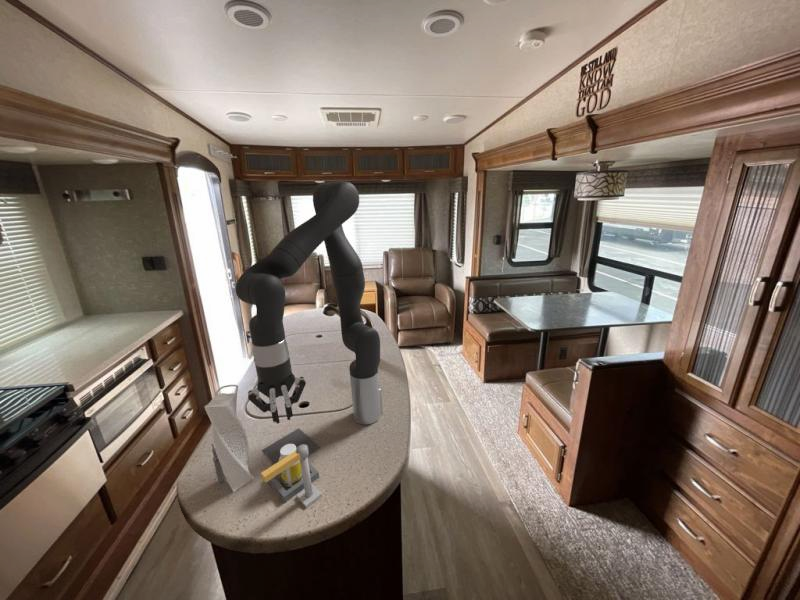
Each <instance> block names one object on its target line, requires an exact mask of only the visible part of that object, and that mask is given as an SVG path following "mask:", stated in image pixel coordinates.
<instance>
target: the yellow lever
mask: <svg viewBox="0 0 800 600" xmlns="http://www.w3.org/2000/svg"><path fill="white" fill-rule="evenodd" d="M307 457H309V452H308V446H307V445H305V444H303V445H300V446H298V447H297V449H296V451H294V452H293V453H291V454H290V455H288V456H287V457H285V458H284V459H282V460H280V461H279V462H277V463H276V464H274V463H273V464H272V465H271V466H269V467H268V468H267V469H265V470H263V471H262V472H261V473H260V474H261V478H262V480H263V482H264V483H269V482H268V481H269V480H271V479H272V478H274V477H275V476H277V475H278V474H280V473H281V472H283V471H284V470H286V469H287V468H288V467H290V466H291V465H293V464H294V463H296V462H297V461H299V460H303V459H306V458H307Z"/></svg>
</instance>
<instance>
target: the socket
mask: <svg viewBox="0 0 800 600" xmlns="http://www.w3.org/2000/svg"><path fill="white" fill-rule="evenodd" d="M308 457H309V456H308ZM308 457H307V458H306V459H303V460H300V465H301V471H302V477H303V479H302V480H301V481H299V482H298V483H297V484H295V485H294V486H292V487H289V488H288V489H287V490H286V489H285V487H284V486H283V485H282V484H281V483H280V482H279V481H278V480H277V478H278V477H280V476H281V473H280V474H278V475H277V476H275V477H274V478H272V479H271V480H269V481H268V482H267V483H269V484H270V486H271V487H272V488H273V489H274V491H275V492H276V493H277V495H278V496H279V497H280V498H281V500H282V501H283V502H284V503H287V502H289V500H291V499H292V498H294V497H295V496H296V498H297V500H298V501H300V503H301V504H302V505H303V506H304V507H305V509H307V508H309V507H310V506H311V505H313V504H314V503H315V502H316V501H318V500H319V499H320V498H321V497H323V493H322V492H321V491H320V490H319V489H318V488H317V487H316V485H314V484H313V483H314V482H315V481H316V480H317V479H319V478H320V473H319V471H318V470H317V469H316V468H315V467H314V466H313V465H312V464H311V463H310V462H309V458H308Z"/></svg>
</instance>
